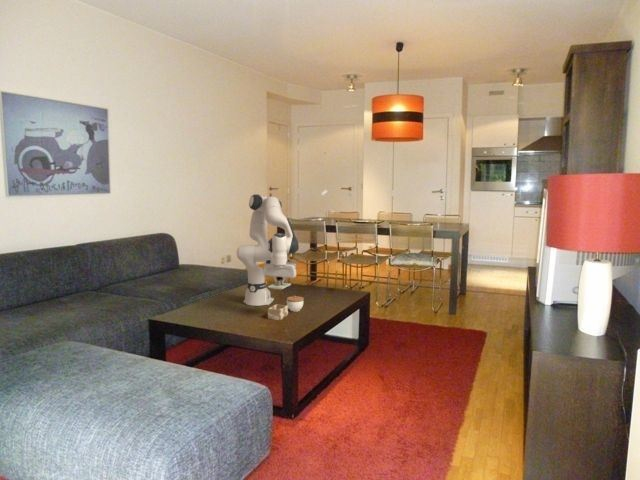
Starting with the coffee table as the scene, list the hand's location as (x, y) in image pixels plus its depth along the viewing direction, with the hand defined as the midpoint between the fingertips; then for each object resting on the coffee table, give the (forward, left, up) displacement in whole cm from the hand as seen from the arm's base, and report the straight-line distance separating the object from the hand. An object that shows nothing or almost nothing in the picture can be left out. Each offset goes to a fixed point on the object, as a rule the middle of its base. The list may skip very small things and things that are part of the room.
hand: (279, 284), depth 293 cm
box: (0, -1, -20) cm, 20 cm away
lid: (0, 0, -1) cm, 1 cm away
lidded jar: (-18, +3, -20) cm, 27 cm away
